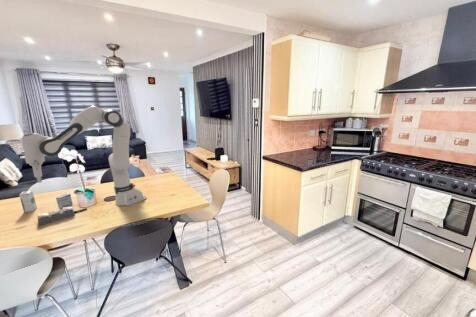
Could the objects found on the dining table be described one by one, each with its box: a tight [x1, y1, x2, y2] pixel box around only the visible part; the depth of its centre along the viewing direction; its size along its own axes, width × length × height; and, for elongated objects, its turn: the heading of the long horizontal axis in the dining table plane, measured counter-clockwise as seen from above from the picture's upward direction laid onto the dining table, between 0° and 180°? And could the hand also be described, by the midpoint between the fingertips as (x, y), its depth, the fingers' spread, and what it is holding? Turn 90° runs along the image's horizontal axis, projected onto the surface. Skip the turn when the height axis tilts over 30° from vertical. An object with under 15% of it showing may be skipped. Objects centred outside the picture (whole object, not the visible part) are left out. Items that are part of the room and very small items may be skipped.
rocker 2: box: [49, 208, 61, 216], centre depth 152 cm, size 5×4×2 cm
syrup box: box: [18, 190, 38, 213], centre depth 164 cm, size 6×6×14 cm
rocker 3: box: [63, 206, 74, 211], centre depth 156 cm, size 5×4×2 cm
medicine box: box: [55, 193, 74, 209], centre depth 170 cm, size 8×4×9 cm, turn 160°
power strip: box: [37, 205, 88, 226], centre depth 156 cm, size 27×8×4 cm, turn 132°
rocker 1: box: [37, 212, 49, 218], centre depth 148 cm, size 5×4×2 cm
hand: (39, 180), depth 142 cm, fingers open, 8 cm apart
